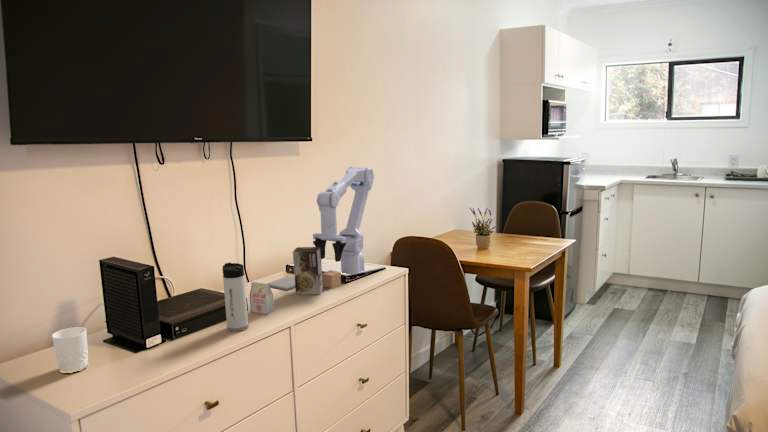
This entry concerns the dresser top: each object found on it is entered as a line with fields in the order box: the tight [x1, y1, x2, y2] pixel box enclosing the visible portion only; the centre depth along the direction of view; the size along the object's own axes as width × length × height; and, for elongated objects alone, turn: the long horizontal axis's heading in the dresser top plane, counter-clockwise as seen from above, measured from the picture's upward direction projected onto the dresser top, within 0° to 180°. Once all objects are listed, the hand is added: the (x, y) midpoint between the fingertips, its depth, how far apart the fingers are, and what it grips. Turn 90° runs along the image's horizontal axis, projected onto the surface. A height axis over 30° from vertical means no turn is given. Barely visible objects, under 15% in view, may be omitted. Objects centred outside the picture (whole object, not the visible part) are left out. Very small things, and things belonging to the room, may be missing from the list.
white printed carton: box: [249, 281, 275, 316], centre depth 188 cm, size 4×7×10 cm, turn 65°
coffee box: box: [292, 246, 324, 295], centre depth 207 cm, size 9×6×16 cm
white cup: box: [51, 326, 89, 371], centre depth 149 cm, size 8×8×10 cm
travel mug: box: [222, 262, 249, 332], centre depth 174 cm, size 6×7×20 cm
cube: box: [322, 270, 342, 289], centre depth 215 cm, size 5×5×5 cm
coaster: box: [266, 276, 295, 292], centre depth 219 cm, size 12×12×1 cm
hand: (330, 259), depth 214 cm, fingers open, 7 cm apart
